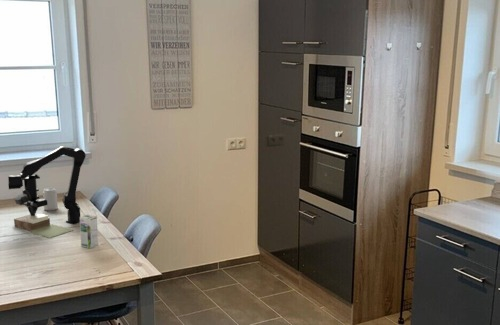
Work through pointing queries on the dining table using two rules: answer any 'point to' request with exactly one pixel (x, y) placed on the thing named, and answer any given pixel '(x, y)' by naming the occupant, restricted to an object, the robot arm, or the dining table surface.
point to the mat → (50, 231)
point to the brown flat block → (30, 226)
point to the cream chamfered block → (36, 218)
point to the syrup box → (88, 231)
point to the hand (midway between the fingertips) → (32, 216)
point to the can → (50, 198)
